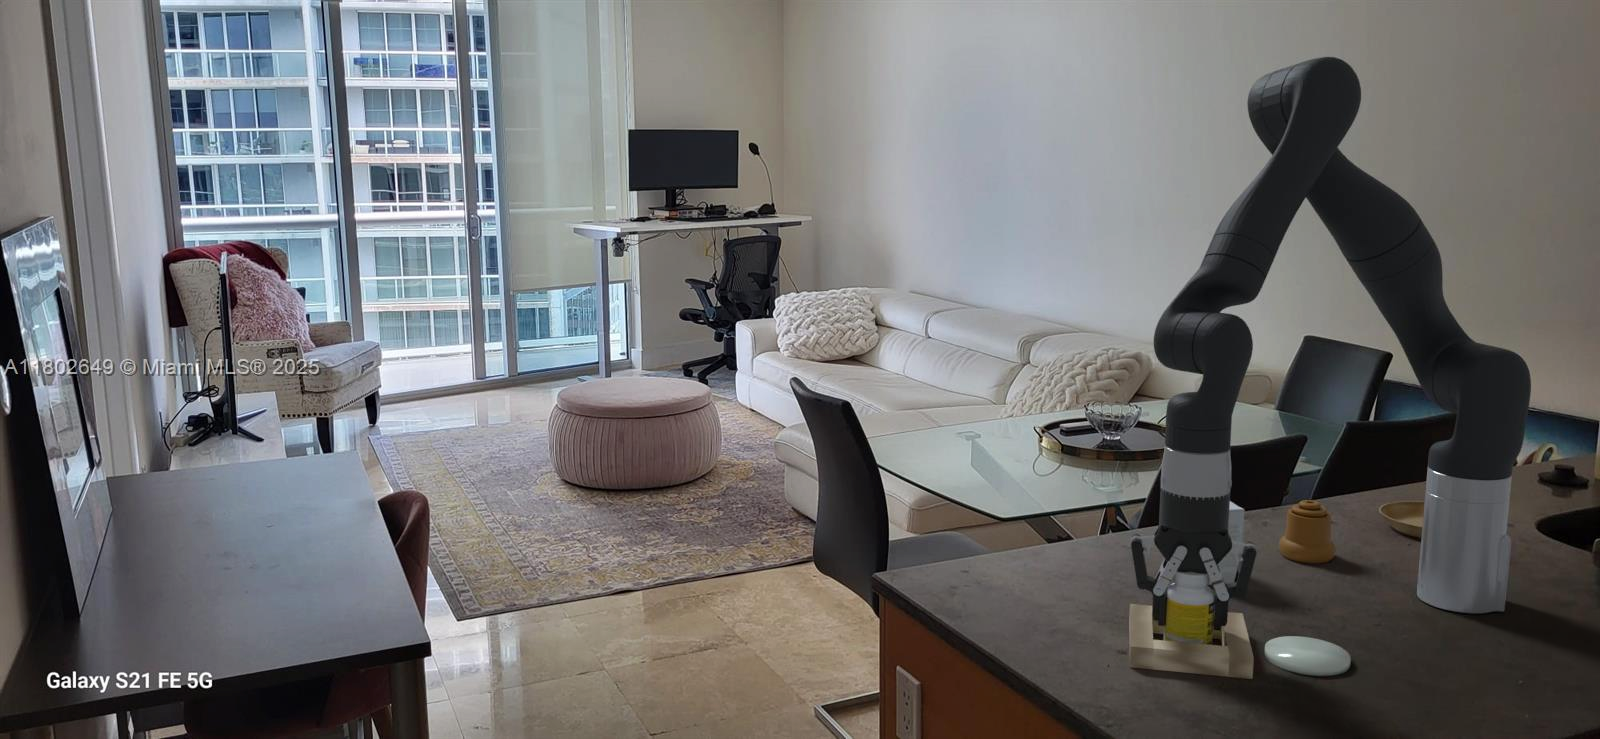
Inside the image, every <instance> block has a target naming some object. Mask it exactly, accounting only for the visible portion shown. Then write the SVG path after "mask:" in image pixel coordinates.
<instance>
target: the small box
mask: <svg viewBox="0 0 1600 739" xmlns="http://www.w3.org/2000/svg"><path fill="white" fill-rule="evenodd" d="M1245 515H1246V511H1245V509H1244V508H1243V507H1240V506H1239V505H1237V504H1235V503H1234V502H1232V501H1231V500H1230V506H1229V524H1228V534H1229V536H1230V538H1231V540H1232V541H1237V542H1241V543H1244V530H1245V529H1244V528H1245V527H1244V526H1245ZM1234 554H1235V553H1234V552H1233V551H1231V550H1230V552H1229V553H1228V554H1227V555H1226V556H1225V557H1224V558H1223V559H1222V560H1221V561H1220V563H1219V564H1218V566H1219V568H1220V571H1221V574H1222V576H1223V578H1224V581H1225V583H1226V584H1228V583H1232V582H1234V578H1235V575H1236V571H1237V567H1238V563H1239V562H1238V561H1236V559H1235V556H1234ZM1210 585H1212V586H1213V584H1212V582H1211V580H1210V581H1209V584H1208V585H1207V586H1210Z"/></svg>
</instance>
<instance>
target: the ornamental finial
mask: <svg viewBox="0 0 1600 739" xmlns="http://www.w3.org/2000/svg"><path fill="white" fill-rule="evenodd" d="M1286 514H1287V515H1286V521H1285V522H1286V523H1285V524H1286V525H1285V533H1284V535H1283V536H1282V537H1281V538H1280V539H1279V542H1278V549H1279V552H1280V554H1281V555H1282V556H1283V557H1284V558H1287V560H1291V561H1295V562H1297V563H1301V564H1303V563H1304V564H1313V565H1314V564H1324V563H1328V562H1330V561H1331V560H1333V559H1334V557H1335V555H1336V553H1337V550H1336V548H1337V547H1336V545H1335V543H1334V542H1333V541H1332V540H1331V538H1332V536H1331V535H1332V514H1331V513H1330V512H1329V511H1328V509H1327V507H1324V506H1322V505H1321V503H1320V502H1318V501H1316V500H1308V499H1305V500H1304V499H1303V500H1300V501H1299V503H1296V504H1293V506H1291V507H1290V508H1288V509H1287V513H1286Z"/></svg>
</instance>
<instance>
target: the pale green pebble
mask: <svg viewBox="0 0 1600 739" xmlns="http://www.w3.org/2000/svg"><path fill="white" fill-rule="evenodd" d="M1264 656H1265V658H1266V660H1267V661H1268V662H1269V663H1271V664H1273V665H1274V666H1276V667H1278V668H1281V669H1284V670H1286V671H1289V672H1292V673H1296V674H1300V675H1306V676H1312V677H1313V676H1314V677H1330V676H1336V675H1341V674H1344V673H1345V672H1347V671H1349V669H1350V667H1351V660H1352V657H1351V654H1349V652H1348V651H1347V650H1345V649H1344V648H1342V647H1341V646H1339V645H1336V644H1335V643H1332V642H1329V641H1327V640H1323V639H1318V638H1314V637H1309V636H1297V635H1288V636H1287V635H1286V636H1285V635H1284V636H1278V637H1275V638H1272V639H1270V640H1268V641H1267V642H1266V643H1265V645H1264Z"/></svg>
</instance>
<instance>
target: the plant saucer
mask: <svg viewBox="0 0 1600 739" xmlns="http://www.w3.org/2000/svg"><path fill="white" fill-rule="evenodd" d="M1424 505H1425V501H1419V500H1407V501H1405V500H1403V501H1402V500H1401V501H1394V502H1388V503H1385V504H1381V506H1379V508H1378V510H1379V511H1378V512H1379V514H1381V516H1382V518H1383V519H1384V520H1385V522H1386V523H1388V524H1389V526H1391V527H1392V528H1393V529H1394V530H1396V531H1397V532H1399V533H1402V534H1404V535H1407V536H1411V537H1414V538H1415V537H1416V538H1418V539H1422V528H1423V516H1424Z"/></svg>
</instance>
